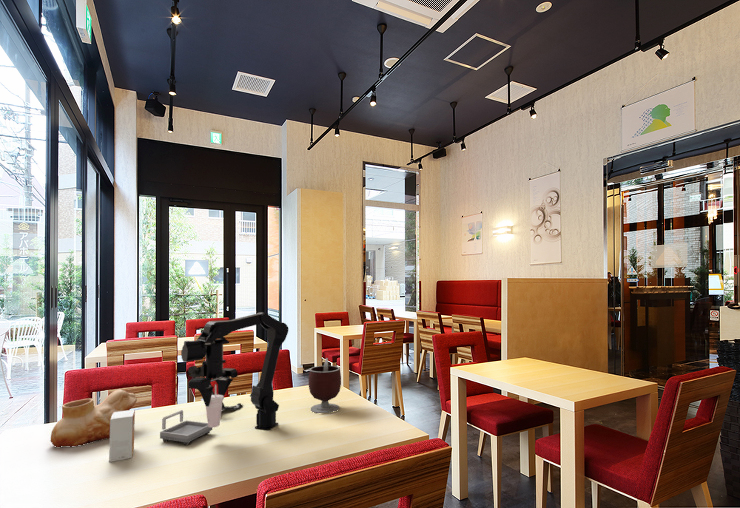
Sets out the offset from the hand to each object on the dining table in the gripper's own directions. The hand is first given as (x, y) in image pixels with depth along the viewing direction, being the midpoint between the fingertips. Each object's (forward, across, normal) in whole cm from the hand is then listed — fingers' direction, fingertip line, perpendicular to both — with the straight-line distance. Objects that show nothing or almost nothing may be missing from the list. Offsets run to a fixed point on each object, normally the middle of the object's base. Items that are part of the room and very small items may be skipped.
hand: (214, 403), depth 142 cm
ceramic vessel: (+13, +8, -45) cm, 47 cm away
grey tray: (+13, 0, -12) cm, 18 cm away
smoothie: (+8, 0, 0) cm, 8 cm away
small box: (+13, +18, -21) cm, 31 cm away
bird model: (+13, -29, -18) cm, 37 cm away
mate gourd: (+13, -44, +22) cm, 51 cm away
